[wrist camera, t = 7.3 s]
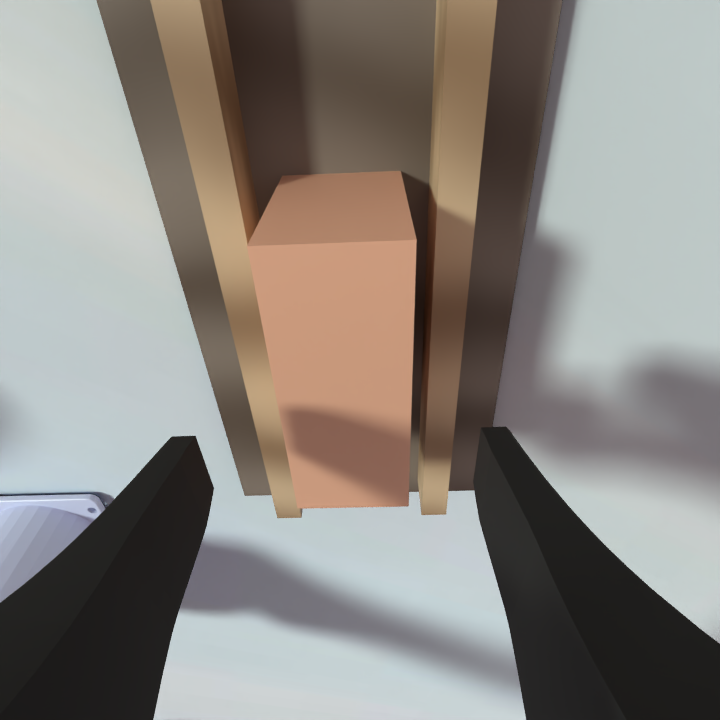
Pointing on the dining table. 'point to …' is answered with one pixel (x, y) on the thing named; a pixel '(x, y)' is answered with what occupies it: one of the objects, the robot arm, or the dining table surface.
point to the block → (340, 332)
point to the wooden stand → (344, 155)
